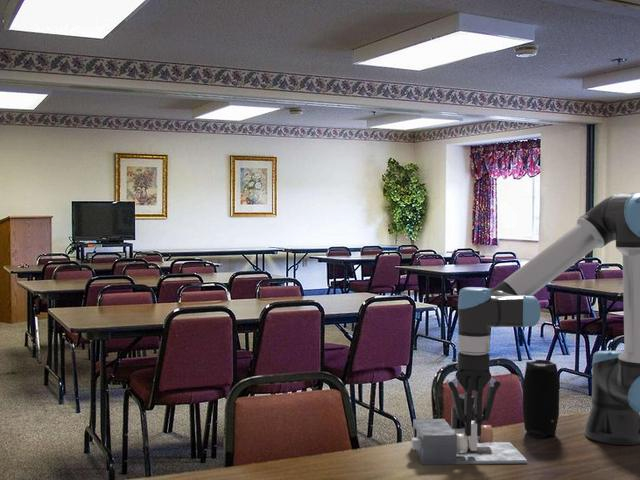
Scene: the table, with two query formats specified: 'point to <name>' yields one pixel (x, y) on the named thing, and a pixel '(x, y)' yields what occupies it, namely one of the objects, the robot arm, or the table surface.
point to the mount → (443, 447)
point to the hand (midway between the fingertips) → (472, 448)
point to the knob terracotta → (485, 434)
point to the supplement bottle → (455, 420)
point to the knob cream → (461, 443)
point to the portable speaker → (541, 398)
